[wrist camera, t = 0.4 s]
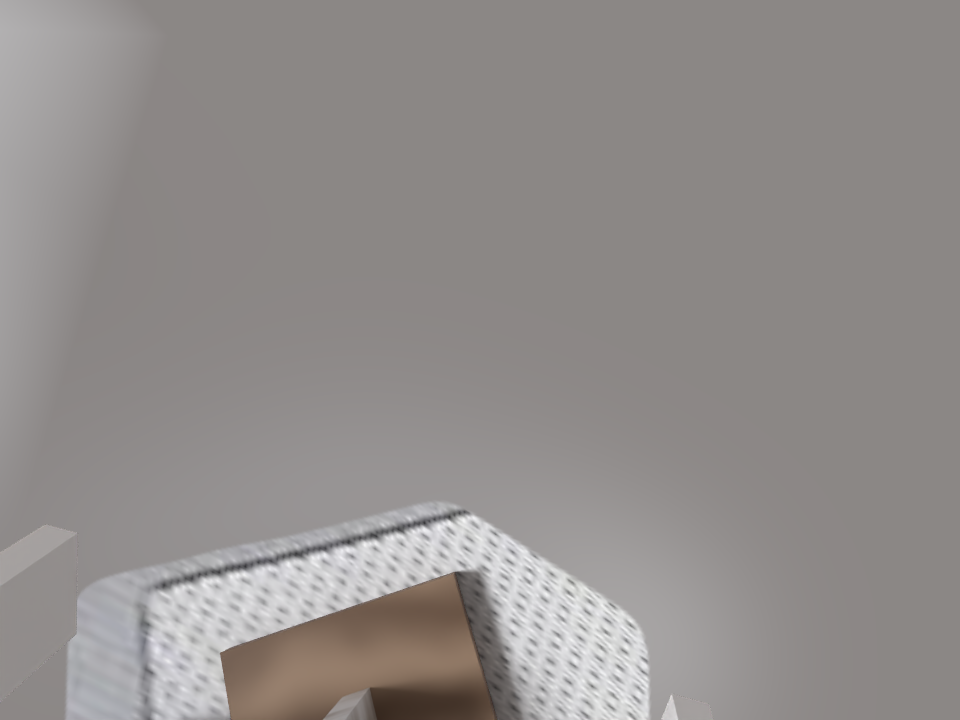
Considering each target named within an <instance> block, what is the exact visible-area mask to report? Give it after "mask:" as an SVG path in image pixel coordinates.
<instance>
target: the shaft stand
mask: <svg viewBox="0 0 960 720" xmlns="http://www.w3.org/2000/svg"><path fill="white" fill-rule="evenodd" d="M220 655H221V661H222V667H223V673H224V680H225V686H226V692H227V698H228V704H229V710H230V716H231V720H497V717H496V713H495V710H494V706H493V703H492V699H491V696H490V692H489V689H488V685H487V682H486V678H485V675H484V671H483V668H482V664H481V661H480V657H479V654H478V650H477V647H476V643H475V640H474V637H473V633H472V630H471V626H470V623H469V619H468V616H467V612H466V609H465V605H464V602H463V598H462V595H461V591H460V588H459V584H458V581H457V577H456V574H455V572H453V573H450V574H447V575H444V576H441V577H438V578H435V579H432V580H429V581H426V582H423V583H420V584H417V585H415V586H412V587H409V588H406V589H403V590H400V591H397V592H394V593H391V594H388V595H385V596H382V597H379V598H376V599H373V600H370V601H367V602H364V603H361V604H358V605H355V606H352V607H349V608H346V609H344V610H341V611H338V612H335V613H332V614H329V615H326V616H323V617H320V618H317V619H314V620H311V621H308V622H305V623H302V624H299V625H296V626H293V627H290V628H287V629H284V630H281V631H278V632H275V633H273V634H270V635H267V636H264V637H261V638H258V639H255V640H252V641H249V642H246V643H243V644H240V645H237V646H234V647H231V648H229V649H227V650H225V651H223V652H221V653H220Z"/></svg>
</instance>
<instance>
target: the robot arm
mask: <svg viewBox="0 0 960 720" xmlns="http://www.w3.org/2000/svg"><path fill="white" fill-rule="evenodd" d="M77 548H78V533H76V532H72V531H68V530H64V529H61V528H57V527H53V526H50V525H46V524H45V525H43V526H42V527H40V528H39V529H37V530H35V531H34V532H32V533H31V534H29V535H27V536H26V537H24V538H22V539H21V540H19V541H18V542H16V543H14V544H13V545H11V546H10V547H8V548H6V549H5V550H3V551H2V552H0V702H1V701H2V700H4V699H5V697H7V696H8V695H9V694H10V693H11V692H12V691H14V690H15V689H16V688H17V687H18V686H19V685H20V684H21V683H22V682H24V681H25V680H26V679H27V678H28V677H29V676H30V675H31V674H32V673H34V672H35V671H36V670H37V669H38V668H39V667H40V666H41V665H43V663H45V662H46V661H47V660H48V659H49V658H50V657H51V656H53V655H54V654H55V653H56V652H57V651H58V650H59V649H60V648H61V647H63V646H64V645H65V644H66V643H67V642H68V641H69V640H70V639H71V638H73V637H74V636H75V635H76V625H77V551H78V549H77ZM661 720H714V719H713V716H712V713H711V710H710V707H709V704H708V703H704V702H701V701H697V700H693V699H689V698H686V697H682V696H678V695H675V694H671V696H670V699H669V702H668V704H667V707H666V709H665V712H664V714H663V717H662V719H661Z"/></svg>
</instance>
